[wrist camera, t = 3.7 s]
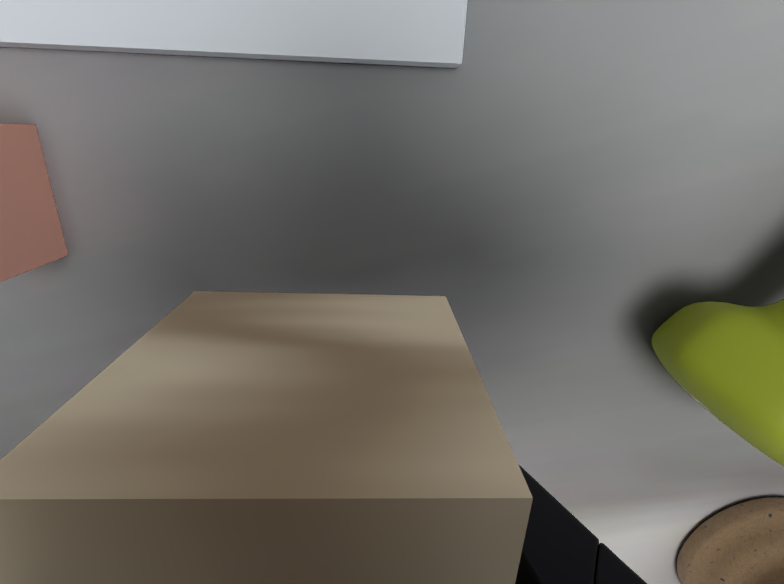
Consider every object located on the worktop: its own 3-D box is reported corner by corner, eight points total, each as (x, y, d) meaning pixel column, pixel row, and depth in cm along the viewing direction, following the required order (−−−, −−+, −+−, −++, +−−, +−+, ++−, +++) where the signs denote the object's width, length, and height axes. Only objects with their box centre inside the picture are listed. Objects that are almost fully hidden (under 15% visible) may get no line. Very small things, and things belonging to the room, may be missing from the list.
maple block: (222, 485, 10) (87, 794, 5) (194, 290, 8) (-47, 499, 4) (428, 484, 10) (473, 781, 6) (445, 296, 8) (533, 498, 4)
